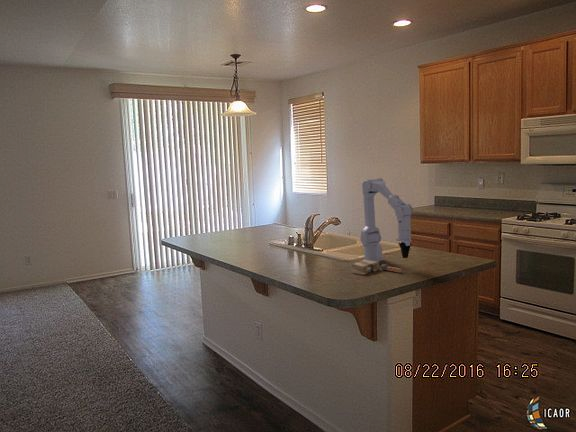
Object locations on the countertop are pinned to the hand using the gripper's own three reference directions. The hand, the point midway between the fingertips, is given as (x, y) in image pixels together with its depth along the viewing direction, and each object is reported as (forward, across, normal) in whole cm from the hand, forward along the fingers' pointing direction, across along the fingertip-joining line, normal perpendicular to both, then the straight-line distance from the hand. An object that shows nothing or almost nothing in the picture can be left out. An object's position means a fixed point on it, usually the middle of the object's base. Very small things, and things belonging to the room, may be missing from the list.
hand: (405, 257), depth 231 cm
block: (+6, -1, -19) cm, 20 cm away
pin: (+6, -2, -20) cm, 21 cm away
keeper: (+6, +2, -7) cm, 9 cm away
